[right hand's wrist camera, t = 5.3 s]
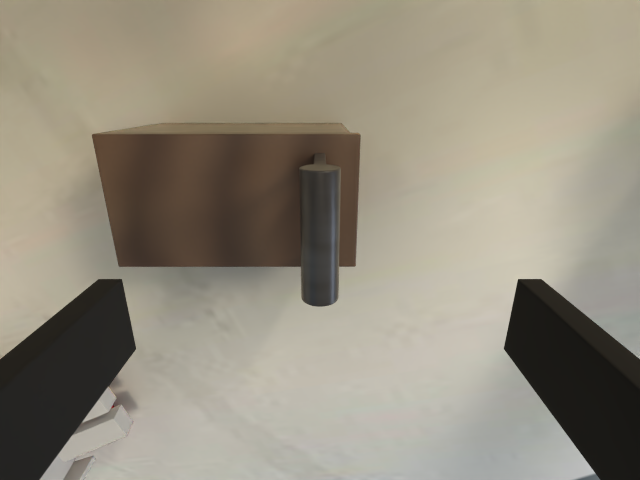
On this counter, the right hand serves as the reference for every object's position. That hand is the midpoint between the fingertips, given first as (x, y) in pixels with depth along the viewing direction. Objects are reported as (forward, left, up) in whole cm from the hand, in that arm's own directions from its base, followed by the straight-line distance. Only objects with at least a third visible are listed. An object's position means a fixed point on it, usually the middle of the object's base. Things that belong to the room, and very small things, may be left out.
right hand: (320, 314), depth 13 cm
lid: (+3, -5, -15) cm, 16 cm away
